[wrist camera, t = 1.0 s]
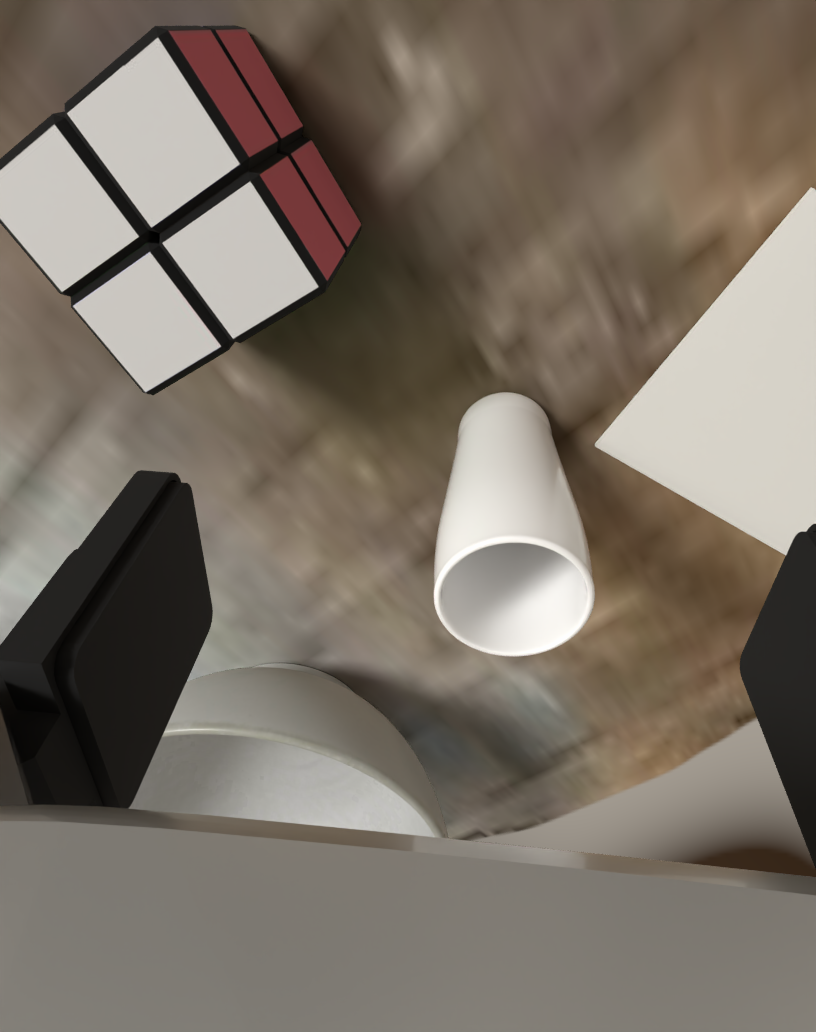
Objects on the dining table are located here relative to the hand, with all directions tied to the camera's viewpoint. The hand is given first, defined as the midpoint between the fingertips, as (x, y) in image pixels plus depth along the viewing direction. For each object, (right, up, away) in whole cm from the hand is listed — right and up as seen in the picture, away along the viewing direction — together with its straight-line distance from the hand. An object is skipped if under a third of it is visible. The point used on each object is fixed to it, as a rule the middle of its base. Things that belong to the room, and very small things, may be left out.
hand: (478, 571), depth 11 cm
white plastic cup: (+5, +6, +30) cm, 31 cm away
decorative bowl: (-11, -15, +47) cm, 50 cm away
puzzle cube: (-10, +17, +24) cm, 31 cm away
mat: (+22, +6, +28) cm, 36 cm away
